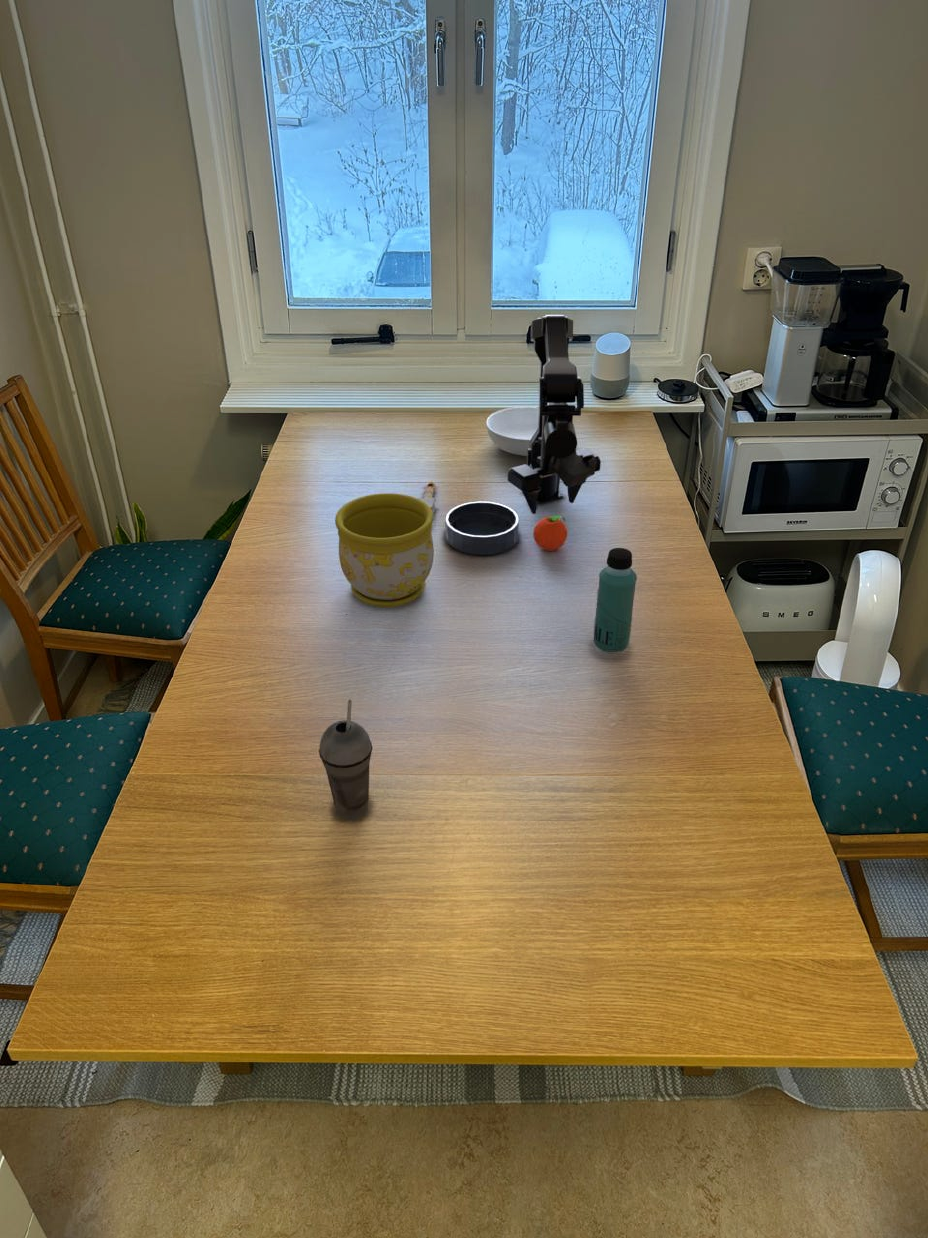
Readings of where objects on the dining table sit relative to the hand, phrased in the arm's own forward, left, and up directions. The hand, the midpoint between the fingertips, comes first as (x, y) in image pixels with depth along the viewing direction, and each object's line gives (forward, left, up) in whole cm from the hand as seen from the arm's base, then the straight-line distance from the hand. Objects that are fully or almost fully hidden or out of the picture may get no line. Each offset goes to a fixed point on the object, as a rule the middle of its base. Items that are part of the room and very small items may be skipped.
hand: (552, 507), depth 185 cm
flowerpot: (+36, -3, -10) cm, 37 cm away
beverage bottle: (+11, +34, -10) cm, 37 cm away
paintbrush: (+14, -28, -10) cm, 33 cm away
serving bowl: (-23, -43, -10) cm, 50 cm away
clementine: (0, 0, -10) cm, 10 cm away
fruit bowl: (+10, -11, -9) cm, 17 cm away
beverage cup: (+66, +45, -10) cm, 80 cm away
